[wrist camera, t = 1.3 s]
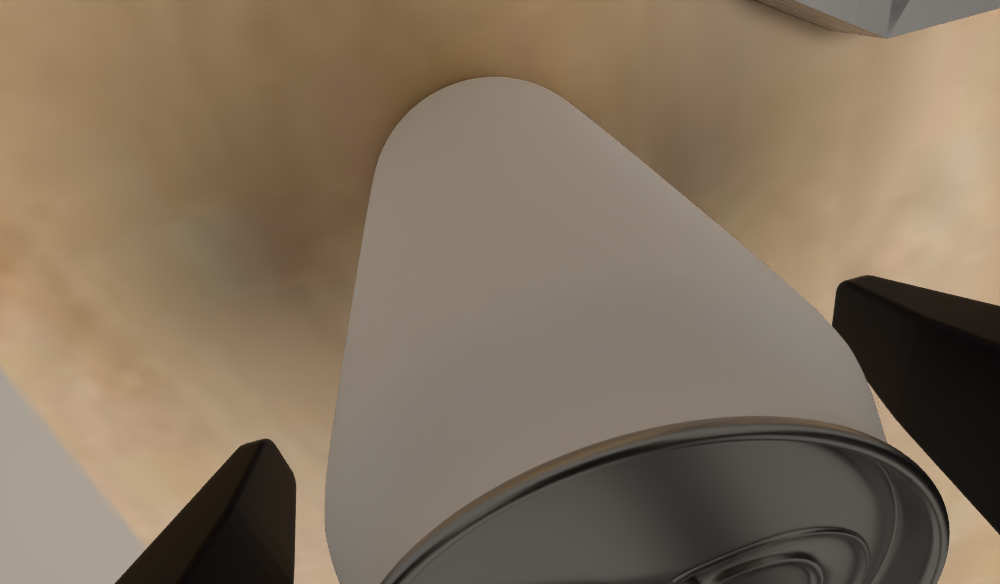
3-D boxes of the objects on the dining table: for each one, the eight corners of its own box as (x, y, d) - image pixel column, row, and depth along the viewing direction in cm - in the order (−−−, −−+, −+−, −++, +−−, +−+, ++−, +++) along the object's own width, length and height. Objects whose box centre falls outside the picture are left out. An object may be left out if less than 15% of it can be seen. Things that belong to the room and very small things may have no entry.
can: (598, 281, 17) (874, 735, 7) (392, 306, 17) (369, 843, 6) (608, 61, 14) (1158, 319, 4) (351, 83, 13) (168, 463, 3)
